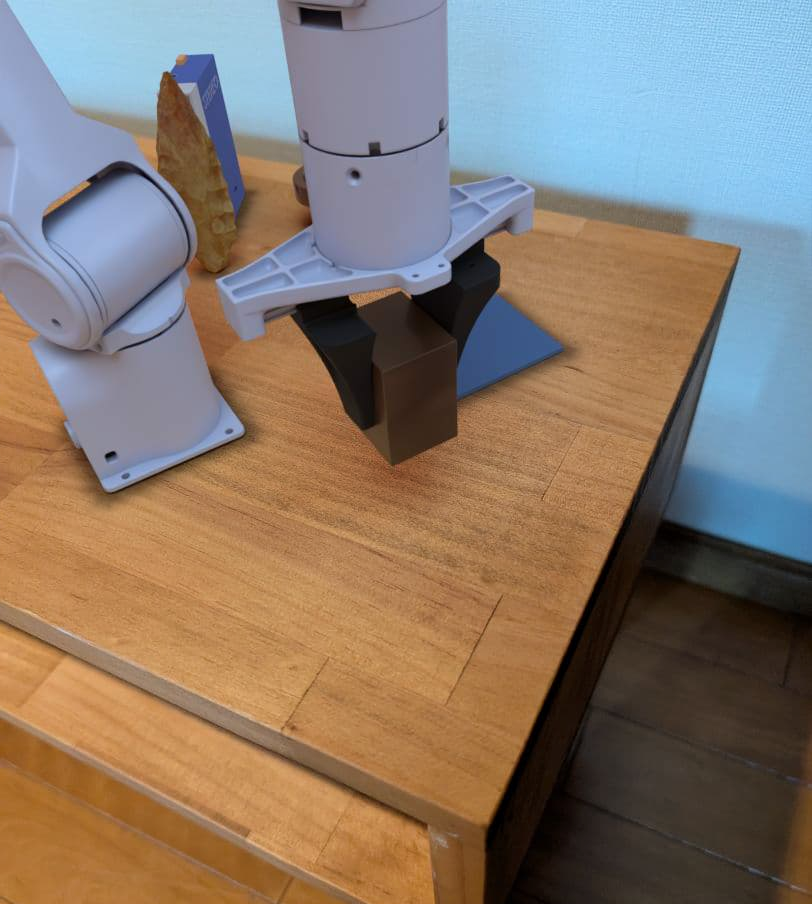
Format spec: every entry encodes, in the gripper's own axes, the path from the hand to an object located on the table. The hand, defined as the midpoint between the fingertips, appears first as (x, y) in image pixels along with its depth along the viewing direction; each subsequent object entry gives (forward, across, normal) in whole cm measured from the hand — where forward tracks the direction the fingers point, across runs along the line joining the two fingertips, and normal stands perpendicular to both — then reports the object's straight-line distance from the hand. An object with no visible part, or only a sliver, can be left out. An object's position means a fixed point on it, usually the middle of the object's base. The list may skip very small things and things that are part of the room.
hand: (397, 400), depth 40 cm
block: (+2, 0, 0) cm, 2 cm away
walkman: (+8, +4, +39) cm, 40 cm away
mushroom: (+8, +12, +32) cm, 35 cm away
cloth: (+8, +12, +10) cm, 17 cm away
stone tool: (+8, 0, +31) cm, 32 cm away
